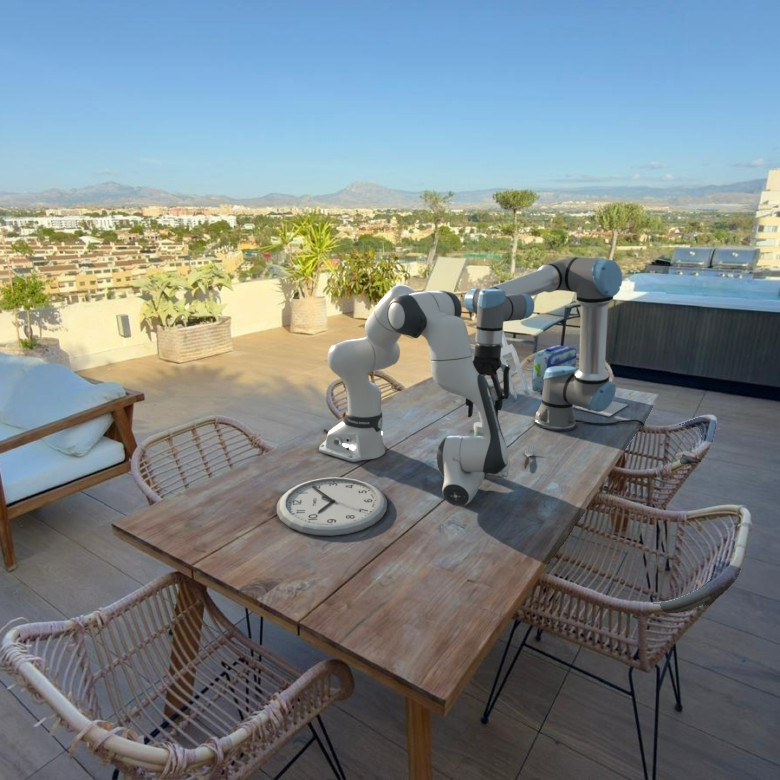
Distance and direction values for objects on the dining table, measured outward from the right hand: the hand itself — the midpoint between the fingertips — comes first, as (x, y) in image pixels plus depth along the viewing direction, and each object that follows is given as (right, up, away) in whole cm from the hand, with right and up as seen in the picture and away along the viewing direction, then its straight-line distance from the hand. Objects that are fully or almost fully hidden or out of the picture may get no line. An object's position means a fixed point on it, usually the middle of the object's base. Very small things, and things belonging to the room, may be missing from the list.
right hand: (482, 417), depth 158 cm
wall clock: (-44, -23, -15) cm, 52 cm away
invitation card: (+63, +1, +68) cm, 93 cm away
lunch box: (+49, +8, +90) cm, 103 cm away
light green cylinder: (0, -17, +5) cm, 18 cm away
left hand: (0, -11, +4) cm, 12 cm away
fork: (+17, -15, +15) cm, 27 cm away
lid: (0, -2, +1) cm, 3 cm away
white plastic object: (+14, +7, +85) cm, 86 cm away
